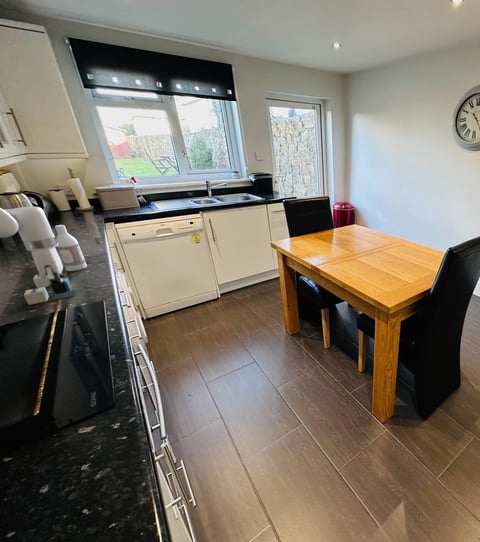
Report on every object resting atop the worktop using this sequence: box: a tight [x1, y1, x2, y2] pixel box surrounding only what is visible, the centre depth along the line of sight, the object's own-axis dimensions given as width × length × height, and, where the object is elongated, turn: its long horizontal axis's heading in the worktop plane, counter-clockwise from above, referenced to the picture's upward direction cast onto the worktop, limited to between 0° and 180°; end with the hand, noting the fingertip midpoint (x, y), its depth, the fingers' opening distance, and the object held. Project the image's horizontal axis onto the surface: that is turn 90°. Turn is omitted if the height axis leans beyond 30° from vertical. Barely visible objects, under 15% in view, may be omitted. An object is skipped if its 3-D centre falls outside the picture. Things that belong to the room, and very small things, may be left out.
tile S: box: [48, 276, 73, 295], centre depth 104 cm, size 4×4×4 cm
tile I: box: [23, 287, 50, 306], centre depth 100 cm, size 4×4×4 cm
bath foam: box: [54, 224, 88, 272], centre depth 124 cm, size 7×7×20 cm
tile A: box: [32, 274, 50, 288], centre depth 112 cm, size 4×4×4 cm
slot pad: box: [51, 289, 77, 302], centre depth 105 cm, size 6×6×1 cm
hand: (62, 289), depth 104 cm, fingers closed on tile S, 4 cm apart
